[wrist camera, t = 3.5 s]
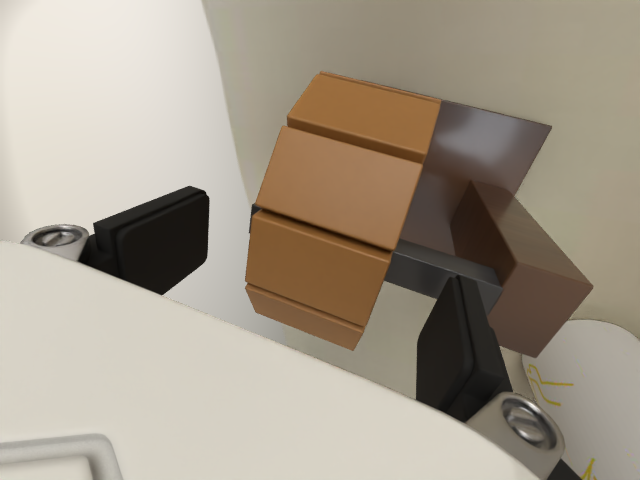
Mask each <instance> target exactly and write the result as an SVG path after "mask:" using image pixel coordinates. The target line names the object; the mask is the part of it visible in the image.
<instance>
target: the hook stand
mask: <svg viewBox="0 0 640 480" xmlns="http://www.w3.org/2000/svg"><path fill="white" fill-rule="evenodd" d="M361 81H363V80H361ZM365 82H367V81H365ZM369 83H371V82H369ZM374 84H375V83H374ZM378 85H379V84H378ZM382 86H383V85H382ZM386 87H388V86H386ZM390 88H392V87H390ZM394 89H396V88H394ZM398 90H400V89H398ZM403 91H404V90H403ZM407 92H408V91H407ZM411 93H413V92H411ZM415 94H417V93H415ZM419 95H421V94H419ZM423 96H425V95H423ZM427 97H429V96H427ZM432 98H433V97H432ZM436 99H437V98H436ZM439 100H441V104H440V109H439V113H438V117H437V120H436V124H435V128H434V131H433V135H432V138H431V142H430V146H429V149H428V153H427V156H426V158H425V161H424V163H423V169H422V172H421V175H420V178H419V181H418V184H417V187H416V190H415V193H414V196H413V199H412V202H411V205H410V208H409V211H408V214H407V217H406V219H405V222H404V225H403V228H402V231H401V234H400V237H399V240H398V243H397V246H396V249H395V250H394V251H393V252H392V258H391V263H390V266H389V268H388V271H387V273H386V276H385V279H384V281H387V282H390V283H393V284H395V285H398V286H401V287H404V288H407V289H410V290H413V291H415V292H418V293H421V294H424V295H427V296H430V297H433V298H435V299H438V297H439V295H440V294H441V292H442V290H443V288H444V286H445V284H446V282H447V280H448V278H449V277H453V278H455V277H456V276H457V275H461V276H464V277H467V278H470V279H473V280H476V282H477V285H478V288H479V292H480V295H481V298H482V302H483V305H484V309H485V312H486V316H487V319H488V322H489V326H490V327H492V328H493V329H494V331H495V334H496V337H497V341H498V344H499V346H502V347H505V348H508V349H510V350H513V351H516V352H519V353H521V354H524V355H527V356H530V357H532V358H537V357H538V356H539V354H540V353H541V352H542V351H543V349H544V348H545V347H546V346H547V345H548V343H549V342H550V341H551V340H552V338H553V337H554V336H555V335H556V333H557V332H558V331H559V330H560V329H561V327H562V326H563V325H564V324H565V322H566V321H567V320H568V319H569V317H570V316H571V315H572V314H573V312H574V311H575V310H576V309H577V308H578V306H579V305H580V304H581V303H582V301H583V300H584V299H585V298H586V296H587V295H588V294H589V293H590V291H591V290H592V289H593V285H592V284H591V283H590V282H589V280H588V279H587V278H586V277H585V276H584V275H583V274H582V273H581V271H580V270H579V269H578V268H577V267H576V266H575V265H574V264H573V262H572V261H571V260H570V259H569V258H568V257H567V256H566V255H565V253H564V252H563V251H562V250H561V249H560V248H559V247H558V246H557V244H556V243H555V242H554V241H553V240H552V239H551V238H550V237H549V235H548V234H547V233H546V232H545V231H544V230H543V229H542V227H541V226H540V225H539V224H538V223H537V222H536V221H535V220H534V218H533V217H532V216H531V215H530V214H529V213H528V212H527V211H526V209H525V208H524V207H523V206H522V205H521V204H520V203H519V202H518V200H517V199H516V198H515V197H514V196H515V194H516V192H517V190H518V189H519V187H520V185H521V183H522V181H523V179H524V178H525V176H526V174H527V172H528V170H529V169H530V167H531V165H532V163H533V161H534V159H535V158H536V156H537V154H538V152H539V150H540V149H541V147H542V145H543V143H544V141H545V140H546V138H547V136H548V134H549V132H550V130H551V129H552V126H549V125H545V124H541V123H537V122H533V121H529V120H525V119H520V118H516V117H512V116H508V115H504V114H500V113H496V112H491V111H487V110H483V109H479V108H475V107H471V106H467V105H462V104H458V103H454V102H450V101H446V100H442V99H439ZM261 209H262V208H260V207H258V206H256V205H255V203H254V204H252V210H251V219H250V228H249V233H250V231H251V222H252V216H253V215H254V214H255V213H257V212H258V211H260V210H261Z"/></svg>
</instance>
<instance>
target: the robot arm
mask: <svg viewBox="0 0 640 480" xmlns="http://www.w3.org/2000/svg"><path fill="white" fill-rule="evenodd" d="M93 225H94V232H95V234H93V235H90V236H89V233H88V231H87V230H86V229H85V228H83V227H80V226H76V225H66V224H65V225H52V226H46V227H43V228H39V229H36V230H34V231H32V232H30V233H29V234H28V235H26V236H25V238H24V239H23V240H22V241H21V243H14V242H9V241H3V240H0V480H582V479H581V478H580V477H579V476H578V475H577V474H576V473H575V472H574V471H573V470H572V469H571V468H570V467H569V466H568V465H567V464H566V463H565V462H564V461H563V460H562V459H561V457H562V455H563V454H564V451H565V447H566V445H565V441H564V436H563V435H562V433H561V431H560V429H559V427H558V425H557V424H556V423H555V422H554V420H553V419H552V418H551V416H550V415H549V414H547V413H546V412H545V411H544V410H543V409H542V408H541V407H540V406H539V405H537V404H536V403H534V402H533V401H532V400H530V399H528V398H526V397H524V396H522V395H520V394H517V393H514V392H513V390H512V386H511V383H510V380H509V377H508V373H507V370H506V367H505V363H504V360H503V357H502V354H501V350H500V347H499V344H498V341H497V337H496V334H495V331H494V329H493V328H492V327H490V326H489V322H488V319H487V316H486V312H485V309H484V305H483V302H482V298H481V295H480V292H479V288H478V285H477V282H476V280H473V279H470V278H467V277H464V276H461V275H457V276H456V277H455V278H453V277H449V278H448V280H447V282H446V284H445V286H444V288H443V290H442V292H441V294H440V295H439V297H438V299H437V301H436V303H435V305H434V307H433V309H432V311H431V313H430V315H429V317H428V319H427V321H426V323H425V325H424V327H423V329H422V331H421V333H420V335H419V338H418V342H417V379H416V400H415V399H412V398H410V397H408V396H406V395H404V394H401V393H399V392H397V391H395V390H392V389H390V388H387V387H385V386H383V385H380V384H378V383H375V382H373V381H370V380H368V379H366V378H363V377H361V376H358V375H356V374H353V373H351V372H349V371H346V370H344V369H341V368H339V367H336V366H334V365H332V364H329V363H327V362H324V361H322V360H319V359H317V358H315V357H312V356H310V355H307V354H305V353H302V352H300V351H297V350H295V349H293V348H290V347H288V346H285V345H282V344H280V343H278V342H275V341H273V340H270V339H268V338H265V337H263V336H260V335H258V334H255V333H253V332H251V331H248V330H246V329H243V328H241V327H238V326H236V325H233V324H230V323H228V322H226V321H223V320H221V319H218V318H216V317H214V316H211V315H208V314H206V313H204V312H201V311H199V310H196V309H194V308H191V307H189V306H186V305H184V304H182V303H179V302H177V301H174V300H171V299H169V298H167V297H164V296H162V295H163V294H165V293H166V292H167V291H169V290H170V289H171V288H172V287H174V286H175V285H176V284H178V283H179V282H180V281H181V280H183V279H184V278H185V277H187V276H188V275H189V274H190V273H192V272H193V271H195V270H196V269H197V268H198V267H200V266H201V265H202V264H203V263H204V262H205V261H206V259H207V252H208V227H209V197H208V196H207V195H206V192H205V191H204V190H201V189H198V188H195V187H192V186H188V187H185V188H182V189H180V190H177V191H175V192H172V193H169V194H167V195H164V196H162V197H159V198H157V199H154V200H151V201H149V202H146V203H144V204H141V205H139V206H136V207H133V208H131V209H129V210H126V211H123V212H121V213H118V214H116V215H113V216H110V217H108V218H105V219H103V220H100V221H97V222H95V223H93Z"/></svg>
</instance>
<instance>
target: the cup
mask: <svg viewBox="0 0 640 480" xmlns="http://www.w3.org/2000/svg"><path fill="white" fill-rule="evenodd" d="M522 363H523V367H524V369H525V372H526V375H527V378H528V380H529V383H530V386H531V388H532V391H533V394H534V396H535V399H536V402H537V405H539V406H540V407H541V408H542V409H543V410H544V411H545V412H546V413H547V414H549V415H550V416H551V418H552V419H553V420H554V422H555V423H556V424H557V425H558V427H559V429H560V431H561V433H562V435H563V436H564V441H565V445H566V447H565V451H564V454H563V455H562V457H561V459H562V460H563V461H564V462H565V463H566V464H567V465H568V466H569V467H570V468H571V469H572V470H573V471H574V472H575V473H576V474H577V475H578V476H579V477H580V478H581V479H582V480H640V341H639V340H638V339H637V338H636V337H635V336H634V335H633V334H632V333H630V332H629V331H627V330H625V329H623V328H621V327H619V326H617V325H614V324H611V323H607V322H603V321H597V320H571V321H566V322H565V324H564V325H563V326H562V327H561V329H560V330H559V331H558V332H557V333H556V335H555V336H554V337H553V338H552V340H551V341H550V342H549V343H548V345H547V346H546V347H545V348H544V349H543V351H542V352H541V353H540V354H539V356H538V357H537V358H532V357H530V356H527V355H524V354H522Z"/></svg>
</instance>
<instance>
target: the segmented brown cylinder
mask: <svg viewBox="0 0 640 480" xmlns="http://www.w3.org/2000/svg"><path fill="white" fill-rule="evenodd" d="M440 104H441V100H439V99H436V98H432V97H427V96H423V95H419V94H415V93H411V92H407V91H403V90H398V89H394V88H390V87H386V86H382V85H378V84H374V83H369V82H365V81H361V80H357V79H353V78H349V77H345V76H340V75H336V74H332V73H327V72H323V71H320V73H319V74H317V75H316V76H315V77H314V79H313V80H312V81H311V83H310V84H309V86H308V87H307V88H306V90H305V91H304V93H303V94H302V95H301V97H300V98H299V100H298V101H297V102H296V104H295V105H294V107H293V108H292V109H291V111H290V112H289V114H288V115H287V125H288V127H287V126H282V128H281V130H280V133H279V136H278V139H277V142H276V145H275V148H274V151H273V153H272V156H271V159H270V162H269V165H268V168H267V171H266V174H265V177H264V179H263V182H262V185H261V188H260V191H259V194H258V197H257V200H256V202H255V205H256V206H258V207H260V208H262V209H261V210H260V211H258V212H257V213H255V214H254V215H253V216H252V222H251V231H250V240H249V249H248V259H247V267H246V276H245V281H246V282H248V283H247V285H246V287H245V289H246V291H247V294H248V296H249V298H250V301H251V303H252V305H253V307H254V310H255V312H256V313H259V314H261V315H263V316H266V317H269V318H271V319H274V320H276V321H279V322H281V323H284V324H286V325H289V326H291V327H294V328H296V329H299V330H301V331H304V332H306V333H309V334H312V335H314V336H317V337H319V338H322V339H324V340H327V341H329V342H332V343H334V344H337V345H339V346H342V347H344V348H347V349H349V350H352V351H354V349H355V347H356V345H357V344H358V342H359V340H360V338H361V336H362V334H363V333H364V329H365V326H366V325H367V323H368V320H369V318H370V315H371V312H372V310H373V307H374V305H375V302H376V299H377V297H378V294H379V292H380V289H381V286H382V284H383V281H384V279H385V276H386V273H387V271H388V268H389V266H390V263H391V258H392V252H393V251H394V250H395V249H396V246H397V243H398V240H399V237H400V234H401V231H402V228H403V225H404V222H405V219H406V217H407V214H408V211H409V208H410V205H411V202H412V199H413V196H414V193H415V190H416V187H417V184H418V181H419V178H420V175H421V172H422V169H423V163H424V161H425V158H426V156H427V153H428V149H429V146H430V142H431V138H432V135H433V131H434V128H435V124H436V120H437V117H438V113H439V109H440Z"/></svg>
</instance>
